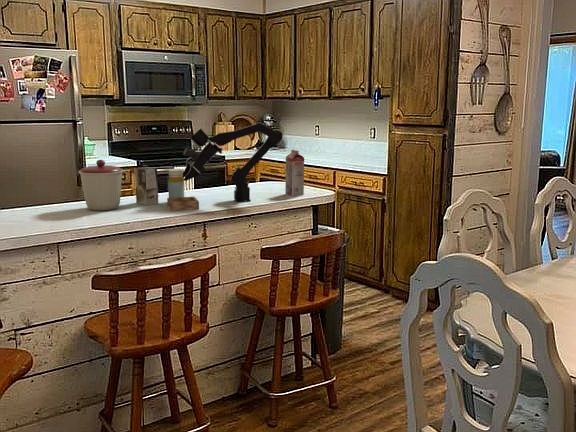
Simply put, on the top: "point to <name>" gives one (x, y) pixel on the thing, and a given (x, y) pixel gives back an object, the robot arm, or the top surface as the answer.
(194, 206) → the caddy
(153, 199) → the coffee box
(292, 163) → the juice carton
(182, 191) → the bottle
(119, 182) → the canister
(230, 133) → the robot arm
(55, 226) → the top surface
